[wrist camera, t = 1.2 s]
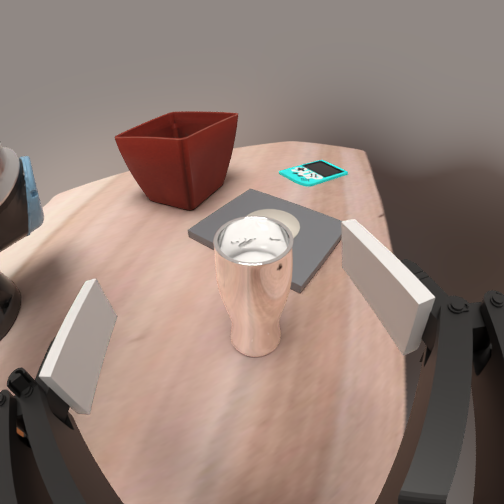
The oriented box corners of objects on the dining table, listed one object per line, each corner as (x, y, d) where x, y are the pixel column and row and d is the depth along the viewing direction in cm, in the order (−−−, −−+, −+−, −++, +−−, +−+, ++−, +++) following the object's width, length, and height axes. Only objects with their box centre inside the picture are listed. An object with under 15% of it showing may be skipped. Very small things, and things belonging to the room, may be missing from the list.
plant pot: (195, 224, 50) (182, 138, 39) (129, 206, 57) (112, 136, 46) (243, 181, 63) (240, 112, 52) (180, 171, 70) (172, 111, 59)
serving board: (189, 236, 47) (187, 228, 46) (250, 194, 58) (250, 187, 57) (300, 293, 37) (301, 284, 36) (347, 230, 48) (349, 222, 47)
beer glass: (215, 331, 33) (195, 233, 23) (260, 304, 36) (259, 205, 26) (250, 371, 29) (244, 281, 19) (296, 338, 32) (313, 241, 22)
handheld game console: (277, 174, 67) (277, 170, 66) (321, 162, 73) (321, 158, 73) (305, 190, 61) (305, 184, 60) (348, 175, 67) (348, 171, 66)
